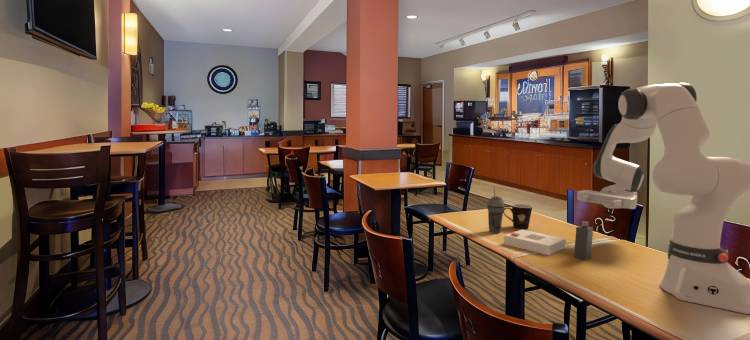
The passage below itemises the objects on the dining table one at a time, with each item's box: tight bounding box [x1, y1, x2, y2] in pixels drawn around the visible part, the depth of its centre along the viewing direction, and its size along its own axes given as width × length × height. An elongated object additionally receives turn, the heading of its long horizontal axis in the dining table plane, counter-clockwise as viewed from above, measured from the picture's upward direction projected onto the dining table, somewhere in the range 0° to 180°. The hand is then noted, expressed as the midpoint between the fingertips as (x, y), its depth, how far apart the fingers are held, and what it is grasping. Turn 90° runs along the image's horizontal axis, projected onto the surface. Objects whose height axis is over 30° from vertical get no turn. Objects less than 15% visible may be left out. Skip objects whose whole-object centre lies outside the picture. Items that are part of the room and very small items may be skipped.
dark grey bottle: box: [573, 220, 594, 261], centre depth 153 cm, size 4×4×13 cm
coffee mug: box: [503, 203, 533, 230], centre depth 195 cm, size 12×9×10 cm
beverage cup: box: [486, 185, 506, 235], centre depth 185 cm, size 7×7×20 cm
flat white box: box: [503, 229, 567, 256], centre depth 166 cm, size 18×14×4 cm
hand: (598, 201), depth 160 cm, fingers open, 8 cm apart
